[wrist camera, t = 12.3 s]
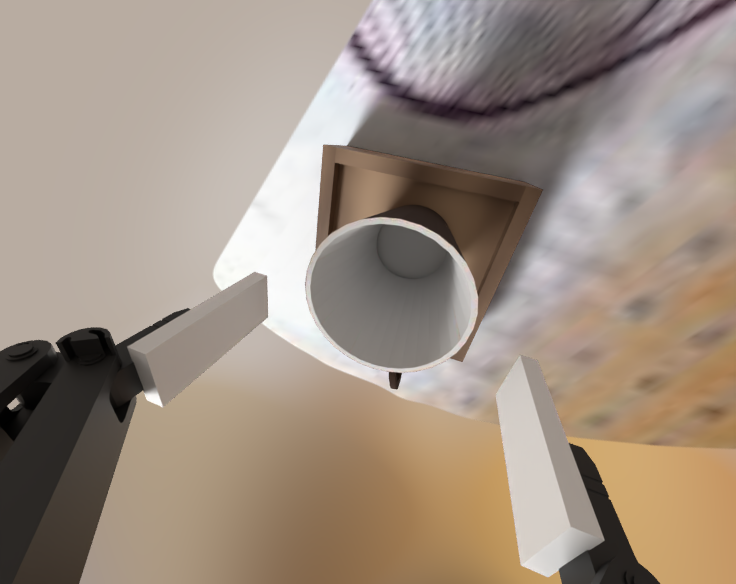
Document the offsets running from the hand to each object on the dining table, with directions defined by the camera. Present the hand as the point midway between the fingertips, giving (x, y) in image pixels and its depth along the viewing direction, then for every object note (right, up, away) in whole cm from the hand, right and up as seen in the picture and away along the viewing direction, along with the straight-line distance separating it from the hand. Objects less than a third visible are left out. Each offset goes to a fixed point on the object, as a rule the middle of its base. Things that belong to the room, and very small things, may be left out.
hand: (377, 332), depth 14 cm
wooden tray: (+4, +6, +12) cm, 14 cm away
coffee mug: (+3, +5, +9) cm, 11 cm away
